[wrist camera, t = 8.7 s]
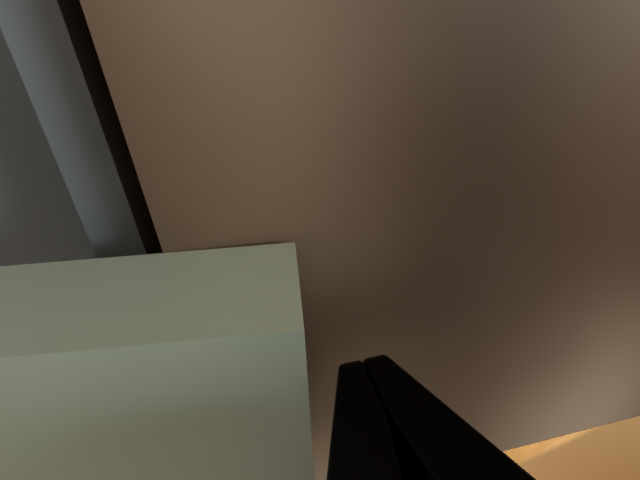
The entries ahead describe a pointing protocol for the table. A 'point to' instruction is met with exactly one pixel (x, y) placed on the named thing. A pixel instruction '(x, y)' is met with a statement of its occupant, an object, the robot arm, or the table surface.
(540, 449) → the table surface
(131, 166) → the box
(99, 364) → the sage tile
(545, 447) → the table surface
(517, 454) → the table surface
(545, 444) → the table surface
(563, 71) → the taupe pedestal platform
